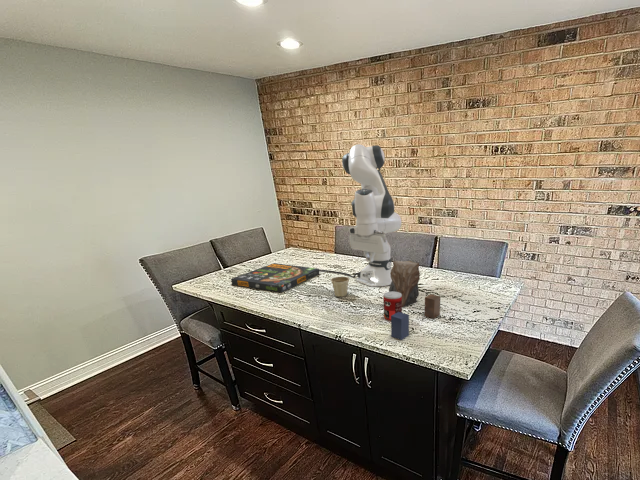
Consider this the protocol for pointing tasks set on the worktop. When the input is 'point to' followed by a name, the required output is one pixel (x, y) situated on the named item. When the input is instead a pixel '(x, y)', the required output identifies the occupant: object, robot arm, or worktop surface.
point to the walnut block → (432, 306)
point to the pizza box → (275, 277)
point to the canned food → (392, 304)
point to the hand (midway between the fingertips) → (369, 261)
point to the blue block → (399, 325)
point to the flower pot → (340, 286)
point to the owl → (405, 280)
